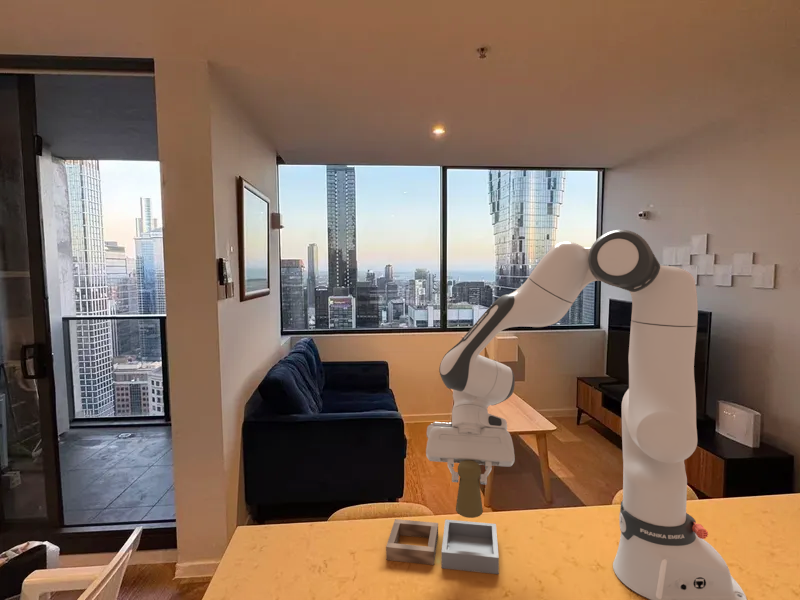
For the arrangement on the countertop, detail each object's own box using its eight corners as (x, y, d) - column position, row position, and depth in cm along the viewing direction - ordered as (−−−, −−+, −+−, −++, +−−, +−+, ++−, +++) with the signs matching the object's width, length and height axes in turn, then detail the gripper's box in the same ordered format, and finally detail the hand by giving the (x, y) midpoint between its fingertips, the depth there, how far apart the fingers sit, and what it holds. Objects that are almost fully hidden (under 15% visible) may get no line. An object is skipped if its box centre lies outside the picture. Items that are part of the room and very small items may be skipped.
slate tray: (495, 538, 99) (495, 523, 99) (498, 574, 88) (498, 557, 87) (445, 533, 102) (445, 519, 101) (441, 568, 90) (441, 552, 90)
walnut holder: (438, 534, 101) (438, 522, 101) (434, 564, 91) (433, 551, 91) (395, 530, 103) (395, 519, 103) (386, 559, 93) (386, 546, 92)
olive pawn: (482, 519, 91) (482, 470, 90) (454, 516, 92) (454, 467, 91) (483, 504, 96) (483, 457, 96) (456, 501, 98) (456, 455, 97)
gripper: (426, 415, 101) (421, 474, 93) (513, 420, 98) (517, 481, 89) (428, 427, 106) (424, 483, 97) (511, 431, 103) (514, 490, 94)
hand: (469, 482), depth 93 cm, fingers closed on olive pawn, 5 cm apart
